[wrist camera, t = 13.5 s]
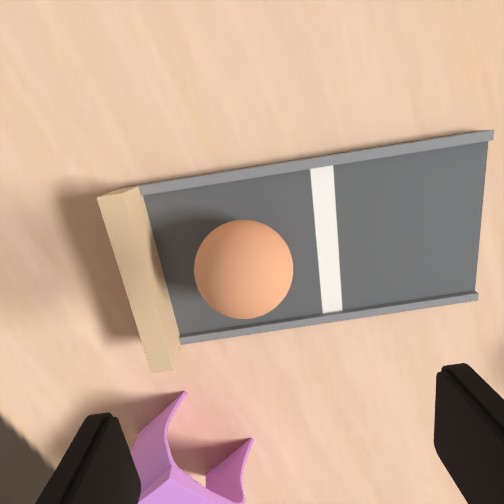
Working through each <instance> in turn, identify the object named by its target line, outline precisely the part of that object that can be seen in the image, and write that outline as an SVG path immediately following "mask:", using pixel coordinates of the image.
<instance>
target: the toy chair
mask: <svg viewBox="0 0 504 504" xmlns="http://www.w3.org/2000/svg"><path fill="white" fill-rule="evenodd" d="M186 395H187V392H185V391H184V392H183V393H181V394H180V395H179V396H178V397H177V398H176V399H175V400H174V401H173V402H172V403H170V404H169V405H168V406H167V407H166V408H165V409H164V410H163V411H162V412H161V413H160V414H158V415H157V416H156V417H155V418H154V419H153V420H152V421H151V422H150V423H149V424H147V425H146V426H145V427H144V428H143V429H142V430H141V431H140V432H139V433H138V436H137V438H136V441H135V443H134V445H133V448H132V450H131V456H132V458H133V461H134V464H135V467H136V469H137V472H138V475H139V478H140V481H141V494H140V498H139V501H138V504H245V495H244V490H243V483H242V478H243V471H244V466H245V463H246V460H247V457H248V454H249V452H250V449H251V447H252V444H253V442H254V439H252V438H250V439H249V440H248V441H247V442H245V443H244V444H243V445H242V446H240V447H239V448H238V449H237V450H236V451H234V452H233V453H232V454H231V455H229V456H228V457H227V458H226V459H224V460H223V461H222V462H221V463H219V464H218V465H217V466H216V467H215V468H213V469H212V470H211V471H210V472H208V473H207V474H206V488H205V487H204V486H202V485H201V484H200V483H198V482H197V481H196V480H194V479H193V478H192V477H191V476H189V475H188V474H186V473H185V472H184V471H182V470H181V469H180V468H179V467H178V466H177V465H176V463H175V462H174V460H173V458H172V455H171V451H170V448H169V444H168V440H167V430H168V425H169V423H170V420H171V418H172V416H173V415H174V413H175V411H176V409H177V408H178V406H179V405H180V403H181V402H182V401H183V399H184V398H185V396H186Z"/></svg>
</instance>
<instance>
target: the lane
mask: <svg viewBox="0 0 504 504" xmlns="http://www.w3.org/2000/svg"><path fill="white" fill-rule="evenodd" d="M493 135H494V130H481V131H474V132H468V133H462V134H455V135H449V136H443V137H436V138H430V139H424V140H418V141H411V142H405V143H399V144H392V145H386V146H380V147H373V148H367V149H361V150H355V151H348V152H342V153H336V154H329V155H323V156H317V157H310V158H304V159H298V160H291V161H285V162H279V163H273V164H266V165H260V166H254V167H247V168H241V169H235V170H228V171H222V172H216V173H209V174H203V175H197V176H191V177H184V178H178V179H172V180H165V181H159V182H153V183H146V184H140V185H134V186H128V187H122V188H119V189H116V190H114V191H111V192H109V193H106V194H104V195H101V196H99V197H96V198H97V201H98V204H99V207H100V211H101V214H102V217H103V220H104V223H105V227H106V230H107V233H108V236H109V239H110V243H111V246H112V249H113V252H114V255H115V259H116V262H117V265H118V268H119V271H120V274H121V278H122V281H123V284H124V287H125V290H126V294H127V297H128V300H129V303H130V306H131V310H132V313H133V316H134V319H135V322H136V326H137V329H138V332H139V335H140V338H141V342H142V345H143V348H144V351H145V354H146V358H147V361H148V364H149V367H150V370H151V373H155V372H162V371H169V370H173V369H174V365H175V362H176V359H177V355H178V352H179V348H180V345H183V344H189V343H196V342H203V341H210V340H216V339H223V338H230V337H236V336H243V335H250V334H256V333H263V332H270V331H276V330H283V329H290V328H297V327H303V326H310V325H317V324H323V323H330V322H337V321H343V320H350V319H357V318H363V317H370V316H377V315H384V314H390V313H397V312H404V311H410V310H417V309H424V308H430V307H437V306H444V305H450V304H457V303H464V302H471V301H477V300H478V294H479V293H477V292H476V291H475V283H476V272H477V261H478V250H479V239H480V228H481V216H482V205H483V194H484V183H485V172H486V161H487V150H488V141H490V140H493ZM235 220H252V221H257V222H260V223H263V224H265V225H267V226H268V227H270V228H272V229H273V230H274V231H276V232H277V233H278V234H279V235H280V236H281V237H282V239H283V240H284V241H285V243H286V244H287V246H288V248H289V250H290V253H291V256H292V261H293V278H292V282H291V286H290V288H289V291H288V293H287V294H286V296H285V297H284V299H283V300H282V301H281V302H280V304H279V305H278V306H277V307H275V308H274V309H273V310H271V311H270V312H268V313H266V314H265V315H262V316H259V317H256V318H251V319H236V318H232V317H228V316H225V315H223V314H221V313H219V312H217V311H216V310H214V309H213V308H212V307H211V306H210V305H209V304H208V303H207V302H206V301H205V300H204V299H203V297H202V296H201V294H200V292H199V290H198V288H197V285H196V281H195V276H194V264H195V258H196V254H197V251H198V249H199V247H200V245H201V244H202V242H203V240H204V239H205V238H206V237H207V236H208V235H209V233H211V232H212V231H213V230H214V229H216V228H217V227H219V226H221V225H222V224H225V223H227V222H231V221H235Z"/></svg>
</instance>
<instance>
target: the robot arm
mask: <svg viewBox="0 0 504 504" xmlns="http://www.w3.org/2000/svg"><path fill="white" fill-rule="evenodd" d="M434 446H435V449H436V452H437V454H438V456H439V458H440V459H441V461H442V463H443V464H444V466H445V467H446V469H447V471H448V472H449V474H450V475H451V477H452V479H453V480H454V482H455V483H456V485H457V487H458V488H459V490H460V491H461V493H462V495H463V496H464V498H465V499H466V501H467V503H468V504H504V399H503V398H502V397H501V396H500V395H499V394H498V393H496V392H495V391H494V390H493V389H492V388H491V387H490V386H489V385H488V384H487V383H486V382H485V381H484V380H483V379H482V378H481V377H480V376H479V375H478V374H477V373H476V372H475V371H474V370H473V369H472V368H471V367H470V366H469V365H467V364H465V363H461V364H454V365H447V366H443V367H442V370H441V372H438V373H437V376H436V400H435V425H434ZM140 494H141V481H140V478H139V475H138V472H137V469H136V467H135V464H134V461H133V458H132V456H131V453H130V450H129V447H128V445H127V442H126V439H125V437H124V434H123V431H122V428H121V426H120V423H119V420H118V418H117V417H113V416H112V414H111V413H101V414H94V415H89V416H88V417H87V418H86V419H85V420H84V422H83V424H82V426H81V427H80V429H79V431H78V432H77V434H76V436H75V438H74V439H73V441H72V443H71V444H70V446H69V448H68V450H67V451H66V453H65V455H64V457H63V458H62V460H61V462H60V463H59V465H58V467H57V469H56V470H55V472H54V474H53V476H52V477H51V479H50V480H49V481H48V483H47V485H46V487H45V488H44V490H43V492H42V493H41V495H40V497H39V498H38V500H37V502H36V503H35V504H138V501H139V498H140Z"/></svg>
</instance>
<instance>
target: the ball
mask: <svg viewBox="0 0 504 504" xmlns="http://www.w3.org/2000/svg"><path fill="white" fill-rule="evenodd" d="M194 276H195V281H196V285H197V288H198V290H199V292H200V294H201V296H202V297H203V299H204V300H205V301H206V302H207V303H208V304H209V305H210V306H211V307H212V308H213V309H214V310H216V311H217V312H219V313H221V314H223V315H225V316H228V317H232V318H236V319H251V318H256V317H259V316H262V315H265V314H266V313H268V312H270V311H271V310H273V309H274V308H275V307H277V306H278V305H279V304H280V302H281V301H282V300H283V299H284V297H285V296H286V294H287V293H288V291H289V288H290V286H291V282H292V278H293V261H292V256H291V253H290V250H289V248H288V246H287V244H286V243H285V241H284V240H283V239H282V237H281V236H280V235H279V234H278V233H277V232H276V231H274V230H273V229H272V228H270V227H268V226H267V225H265V224H263V223H260V222H257V221H252V220H235V221H231V222H227V223H225V224H222V225H221V226H219V227H217V228H216V229H214V230H213V231H212V232H211V233H209V235H208V236H207V237H206V238H205V239H204V240H203V242H202V244H201V245H200V247H199V249H198V251H197V254H196V258H195V264H194Z"/></svg>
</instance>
